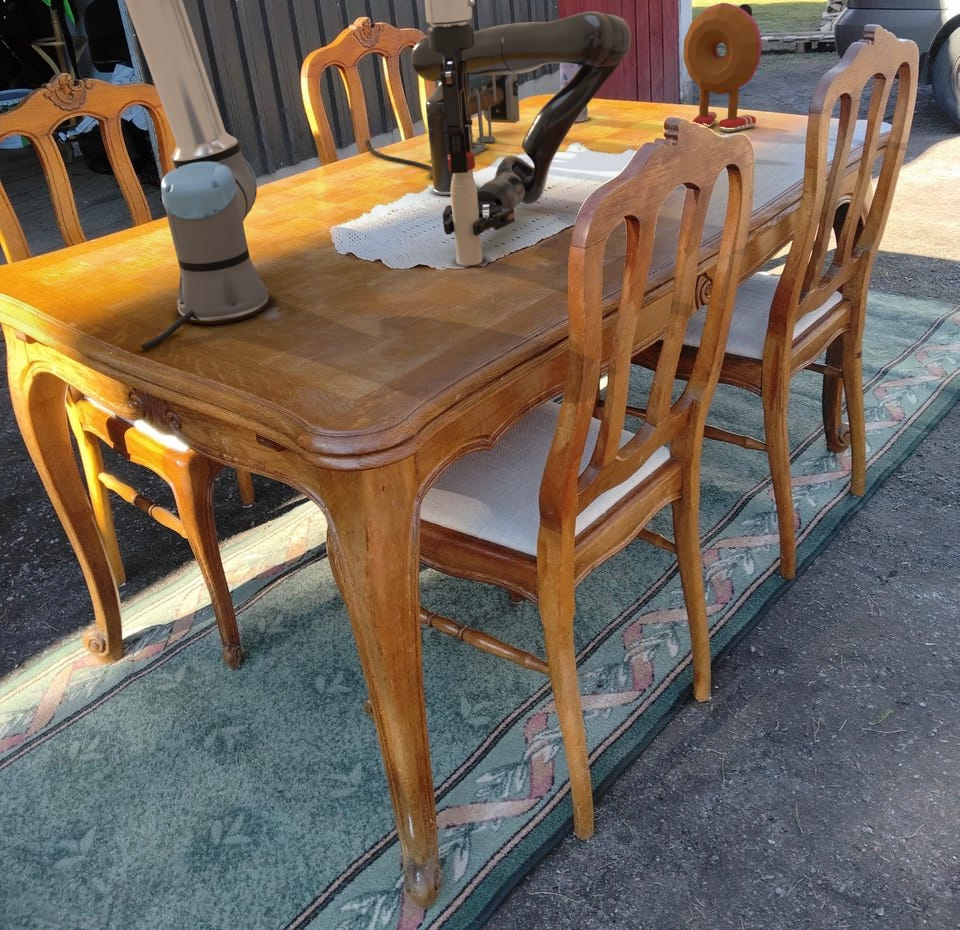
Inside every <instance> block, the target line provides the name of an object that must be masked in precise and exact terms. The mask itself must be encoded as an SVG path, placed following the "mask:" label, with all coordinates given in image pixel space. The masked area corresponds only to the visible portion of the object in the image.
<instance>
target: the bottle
mask: <svg viewBox="0 0 960 930" xmlns="http://www.w3.org/2000/svg"><path fill="white" fill-rule="evenodd" d="M450 189H451V191H450V193H451V195H450V202H451V204H450V205H451V206H452V216H453V227H454V232H453V236H454V249H455V257H456V264H457V265H459V266H465V267H466V266H467V267H469V266H475V265H478V264H481V263H482V262H483V249H482V238H481V234H480V235H478V236H474V232H473V224H474V223H475V222H476V221H477V220H478V219H479V209H478V196H477V190H478V188H477V185H476V181H475V178H474V173H473V174H472V170H468V172H467V173H453V176H452V180H451V188H450Z"/></svg>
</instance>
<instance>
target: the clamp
mask: <svg viewBox="0 0 960 930" xmlns="http://www.w3.org/2000/svg"><path fill="white" fill-rule="evenodd" d="M518 82H519V81H518V74H508V75H470V93H474V94H470V97H469V101H468V108H469V114H470V117H469V120H472V116H474V115H477V120H478V134H479V136H477V139H476V141H474V140H473V138H474V134H473V129H472V128H473V127H472V126H473V124H472V125H469V127H470V140H471V152H473V153H474V156H475V155H477V154H479V153H481V152H483V151H485V150H486V149H487V147H486V146H487V145H486V143H493V142H495V141H496V140H497V139H496V137H495V136H493V133H492V123H499V124H500V123H502V124H504V123H505V124H517V123H518V122H520V120H521V119H520V101H519V100H520V99H519V83H518ZM482 112H483V114H482ZM483 117H484V119H485V120H486V121H487V127H488V136H487V135H484V125H483V124H484V123H483Z"/></svg>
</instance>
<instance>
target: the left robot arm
mask: <svg viewBox="0 0 960 930" xmlns="http://www.w3.org/2000/svg"><path fill="white" fill-rule="evenodd" d="M423 1H424V12H425V21H426V23H427V24H428V25H429V26H428V28H427V30H426V31H427V36H428V42H429V49H430V50H431V51H432V52H442V53H443V61H442V64H440V73H441V74H440V77H441V81H442V88H443V99H444V110H445V121H446V131H444V135H449V146H450V157H451V169H452V173H467V172H468V167H467V154H466V151H469V152H470V139H469V126H466V125H472V126H473V119H471V120H468V119H469V117H470V114H469V108H468V95H467V79H466V68H467V65H466V60H465V59H462V52H461V51H464V50H468V49H471V48H473V46H474V32H475V31H474V25H473V24H472V23H471V22H469V21H471V20H472V19H473V10H472V9H473V8H472V7H473V6H475V4H476V1H475V0H423ZM124 2H125V4H126V5H125V6H126V8H127V10H128V13H129V15H130V19H131V21H132V25H133V27H134V30H135V32H136V35H137V38H138V41H139V44H140V46H141V50H142V52H143V56H144V58H145V60H146V63H147V66H148V69H149V72H150V75H151V77H152V81H153V83H154V86H155V89H156V91H157V94H158V97H159V100H160V102H161V105H162V108H163V111H164V114H165V116H166V120H167V123H168V125H169V128H170V131H171V134H172V136H173V139H174V142H175V144H176V145H175V149H174V151H173V153H172V155H171V160H172V163H173V165H174V168H173V169H172V170H170V171H169V172H167V173H166V174H165V175H164V176H163V178H162V180H161V182H160V191H161V200H162V205H163V207H164V209H165V214H166V217H167V221H168V226H169V230H170V234H171V238H172V241H173V247H174V250H175V254H176V258H177V262H178V266H179V283H178V294H177V310H178V314H179V318H178V320H176V321H175V322H174V323H173V324H171V326H169V327H168V328H167V329H166V330H165V331H164V332H162V333H161V334H159V335H158V336H156V337H155V338H152V339H150V340H148V341H145V342H144V343H142V344H140V345H141V346H140V347H141V349H142V350H143V351H146V350H148V349H151V348H153V347H156V346H157V345H158V344H160V343H162V342H164V341H165V340H167V338H169V337H170V336H172V335H173V333H174V332H176V331H177V330H178V329H179V328H180V327H181V326H183V325H184V324H185V323H189V324H193V325H202V326H203V325H204V326H205V325H206V326H210V325H222V324H230V323H233V322H239V321H241V320H245V319H248V318H251V317H253V316H256V315H258V314H260V312H263V311H264V310H265V309H266V308H267V307H268V306H269V305H270V296H269V292H268V290H267V287H266V284H265V283H264V282H263V280H262V278H261V276H260V274H259V272H258V270H257V269H256V267H255V265H254V264H253V262H252V260H251V257H250V251H249V246H248V241H247V236H246V232H245V227H244V222H245V220H246V217H247V216H248V215H249V213H250V212H251V210H252V209H253V207H254V205H255V203H256V199H257V194H258V191H257V190H258V185H257V178H256V174H255V172H254V169H253V168H252V167H251V164H250V163H249V161H247V160H246V159H245V158H244V156H243V151H242V150H241V146H240V142H239V141H238V139H237V138H236V137H234V136H233V135H231V134H229V133H228V132H227V131H226V128H225V126H224V122H223V120H222V116H221V114H220V111H219V108H218V104H217V102H216V99H215V96H214V95H215V94H214V93H213V90H212V86H211V84H210V80H209V77H208V74H207V71H206V68H205V65H204V62H203V59H202V56H201V53H200V50H199V47H198V44H197V41H196V38H195V34H194V31H193V28H192V26H191V22H190V20H189V16H188V13H187V10H186V7H185V4H184V1H183V0H124Z"/></svg>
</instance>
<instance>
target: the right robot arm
mask: <svg viewBox="0 0 960 930" xmlns="http://www.w3.org/2000/svg"><path fill="white" fill-rule="evenodd" d="M473 32H474V46H473V48H471V49H468V50H464V51H461V52H462V59H465V60H466V65H467V68H466V79H467V95H468V101H469V97H470V96H471V92H470V75H508V74H517V75H518V74H520V75H521V74H526V73H530V72H532V71H535V70H537V69H539V68H540V67H542V66H545V65H549V64H560V63H570V64H578V65H581V66H580V67H579V69H578V70H577V72H576V73H575V75H574V76H573V77H572V78H571V79H570V81H569V82H568V83H567V84H566V85H565V86H564V87H563V88H562V89H561V88H560V89H559V91H557V92H556V93H555V94H554V95H553V96H552V97H551V98H550V99H549V100H548V101H547V102H546V103H545V104H544V106H542V107H541V109H540V110H539V112H538V113H537V114H536V116H535V118H534V119H533V121H532V123H531V125H530V127H529V129H528V130H527V132H526V134H525V136H524V137H523V140H522V143H521V148H522V150H523V151H524V153H525V154H526V155H527V157H528V158H529V159H530V160H531V161H532V163H533V165H531V164H529V163H528V162H527V161H525V160H524V159H522V158H521V157H519V156H517V155H508V156H506V157H505V158H503V159H502V161H501V162H500V163H499V165H498V166H497V168H496V171H495V175H494V178H493V179H491V180H489V181H487V182H485V183H484V184H483V185H482V186H480V187H479V188H477V196H478V209H479V219H478V220H477V221H476V222H475V223H474V224H473V232H474V236H478V235H481V234H483V233H484V232H485V231H490V230H491V229H493V230H495V231H498V230H501V229H504V228H505V227H507V226H509V225H510V224H513V223H515V221H516V220H515V208H517V207H518V206H519V205H520V204H521V203H523V204H524V205H532V204H534V203H536V202H537V201H539V200H540V199H541V198H542V196H543V194H544V191H545V188H546V184H547V180H548V175H549V172H550V169H551V166H552V163H553V160H554V157H555V156H556V154H557V153H558V151H559V149H560V147H561V146H562V144H563V143H564V141H565V139H566V137H567V135H568V134H569V132H570V131H571V129H572V127H573V125H574V124H575V123H576V122H575V121H576V119H577V118H578V116H579V115H580V114H581V112H582V111H583V110H584V108H585V107H586V106H587V107H588V105H589V103H590V102H591V101H592V100H593V98H594V97H595V95H596V94H597V93H598V92H599V91H600V89H601V88H602V87H603V86H604V84H605V83H606V82H607V81H608V80H609V78H610V77H611V76H612V74H613V73H614V72H616V70H617V68H619V66H620V65H621V63H622V62H623V61H624V59H625V58H626V56H627V55H628V52H629V51H630V47H631V42H632V33H631V28H630V26H629V24H628V23H627V22H626V19H624V18H622V17H620V16H617V15H613V14H608V13H603V12H599V11H584V12H580V13H577V14H573V15H569V16H567V17H563V18H559V19H555V20H551V21H529V22H527V21H526V22H515V23H514V22H513V23H508V24H507V23H506V24H500V25H496V26H491V27H488V28H487V27H486V28H483V29H480V30H476V31H473ZM410 59H411V65H412V67H413V70H414V71H415V73H416V74H417V75H418V76H419V77H420V78H422V79H423V80H425V81H428V82H432V83H433V82H437V86H436V89H435V91H434V92H433V93H432V94H431V95H430V96H429V97H428V98H426V99H427V100H426V101H425V112H426V123H427V132H428V143H429V153H430V162H431V163H430V164H431V165H429V164H427V163H426V164H425V163H423V162H418V161H416V160H415V161H414V160H411V159H406V158H400V157H395V156H390V155H387V154H384V153H381V152H378V151H376V150H375V149H374V148H373V147H372V144H371V141H370V139H366V140H365V145H367V148H368V150H369V151H370V152H371V153H372V154H374V156H376V157H379V158H383V159H386V160H390V161H394V162H398V163H404V164H408V165H411V166H412V165H413V166H417V167H421V168H424V169H427V170H429V171H430V179H431V180H432V182H433V188H432V189H433V193H434V194H437V195H441V196H451V193H450V191H451V189H450V188H451V180H452V176H453V173H452V171H450V170H449V169H448V159H447V158H448V154H450V146H449V135H444V131H446V121H445V110H444V99H443V88H442V81H441V77H440V74H441V73H440V64H442V61H443V53H442V52H432V51H431V50H430V49H429V42H428V35H425V36H424V37H421V38H420V39H419V40H417V41H416V43H415V45H414V46H413V48H412V51H411V57H410ZM468 120H469V119H468ZM466 126H469V125H466ZM469 139H470V127H469ZM470 152H471V140H470ZM472 174H473V175H474V169H472ZM442 225H443V232H445V234H446V235H451V234H454V227H453V216H452V205H451V204H448V205H446V206H445V208H444V210H443V212H442Z"/></svg>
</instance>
